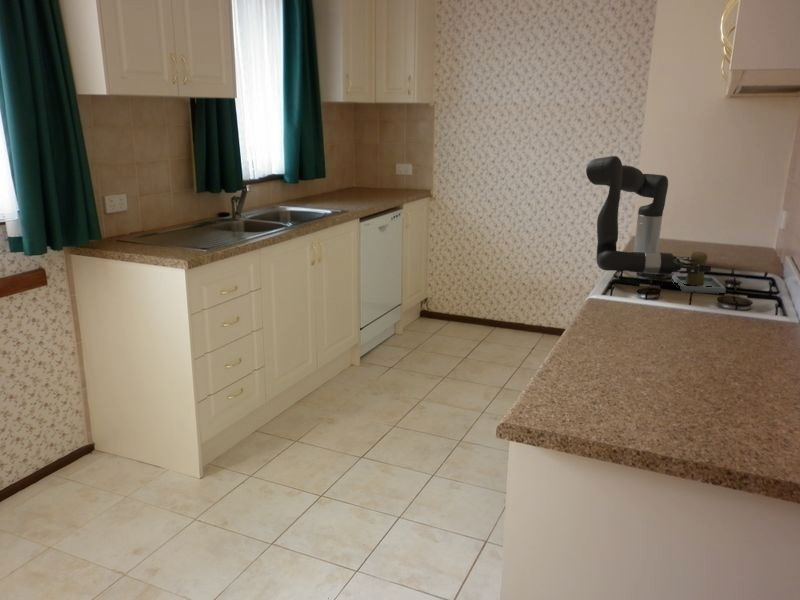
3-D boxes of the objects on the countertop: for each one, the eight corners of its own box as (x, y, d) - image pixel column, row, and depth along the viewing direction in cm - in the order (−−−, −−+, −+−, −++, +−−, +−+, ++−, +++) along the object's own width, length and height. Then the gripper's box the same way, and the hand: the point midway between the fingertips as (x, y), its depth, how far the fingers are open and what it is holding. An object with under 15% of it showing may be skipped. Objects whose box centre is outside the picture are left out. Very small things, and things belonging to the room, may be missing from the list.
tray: (671, 280, 235) (672, 275, 235) (713, 282, 233) (713, 277, 233) (681, 291, 222) (681, 286, 222) (724, 294, 220) (725, 288, 219)
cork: (706, 285, 226) (712, 255, 222) (689, 285, 226) (694, 255, 222) (699, 279, 232) (704, 250, 228) (682, 279, 232) (687, 249, 228)
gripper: (663, 257, 220) (715, 260, 217) (654, 248, 233) (703, 250, 231) (659, 279, 222) (711, 282, 219) (651, 268, 235) (700, 271, 233)
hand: (707, 266), depth 225 cm, fingers open, 6 cm apart
